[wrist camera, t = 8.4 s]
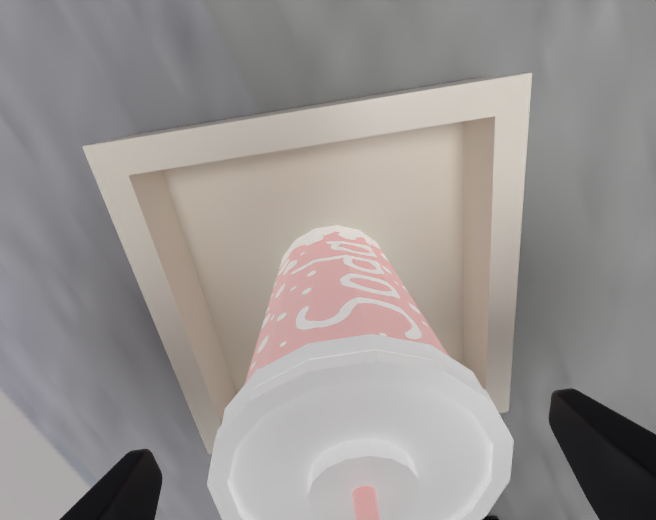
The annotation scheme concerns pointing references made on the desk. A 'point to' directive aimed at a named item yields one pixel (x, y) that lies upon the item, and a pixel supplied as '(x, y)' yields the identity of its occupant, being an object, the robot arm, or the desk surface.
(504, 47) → the desk surface
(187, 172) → the tray
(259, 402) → the beverage cup
